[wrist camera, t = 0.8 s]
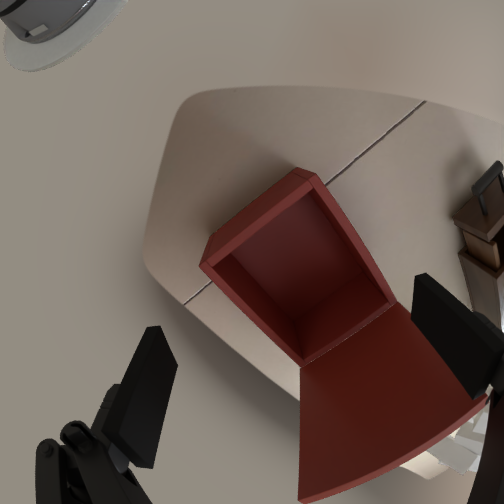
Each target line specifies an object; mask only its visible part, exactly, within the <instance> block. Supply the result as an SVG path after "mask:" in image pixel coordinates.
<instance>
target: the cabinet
mask: <svg viewBox="0 0 504 504" xmlns="http://www.w3.org/2000/svg"><path fill="white" fill-rule="evenodd" d="M458 256H459V259H460V262H461V266H462V269H463V272H464V276H465V279H466V283H467V287H468V291H469V295H470V299H471V303H472V308H473V311H477V312H479V313H481V314H484V315H485V316H486V317H487V318H488V319H489V320H490V321H491V322H493V323H494V324H495V325H496V327H498V328H499V329H500V330H501V331H502V332H503V333H504V265H503V266H502V267H501V268H500V269H499V270H498V272H497V273H496V272H494V271H493V270H491V269H490V268H488V267H487V266H485V265H484V264H482V263H480V262H479V261H477V260H476V259H474V258H473V257H471V256H470V254H469V251H468V247H467V245H466V246H465V247H464V248H463V249H462V250H461V251H460V252H459V253H458Z"/></svg>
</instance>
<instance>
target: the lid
mask: <svg viewBox="0 0 504 504" xmlns="http://www.w3.org/2000/svg"><path fill="white" fill-rule="evenodd" d="M410 318H411V313H410V312H409V311H408V310H407V309H406V308H405V307H404V306H402V305H401V304H400V303H399V302H396V303H395V304H394V305H392V306H391V307H390V308H389V309H387V310H386V311H385V312H383V313H382V314H381V315H379V316H378V317H377V318H375V319H374V320H373V321H371V322H370V323H369V324H367V325H366V326H364V327H363V328H362V329H360V330H359V331H357V332H356V333H354V334H353V335H352V336H350V337H349V338H347V339H346V340H344V341H343V342H341V343H340V344H338V345H337V346H335V347H334V348H332V349H331V350H329V351H327V352H326V353H324V354H323V355H321V356H320V357H318V358H316V359H315V360H313V361H312V362H310V363H308V364H307V365H305V366H303V367H302V368H300V452H299V482H298V501H299V502H301V503H303V504H308V503H311V502H314V501H318V500H321V499H324V498H327V497H330V496H332V495H335V494H338V493H341V492H343V491H346V490H348V489H351V488H353V487H356V486H358V485H360V484H363V483H365V482H367V481H370V480H371V479H374V478H376V477H378V476H380V475H382V474H384V473H386V472H388V471H390V470H392V469H394V468H396V467H398V466H400V465H402V464H403V463H405V462H407V461H409V460H411V459H412V458H414V457H416V456H417V455H419V454H421V453H422V452H424V451H426V450H427V449H429V448H430V447H432V446H433V445H435V444H436V443H438V442H439V441H441V440H442V439H444V438H445V437H447V436H448V435H450V434H451V433H452V432H454V431H455V430H456V429H458V428H459V427H460V426H462V425H463V424H464V423H466V422H467V421H468V420H469V419H471V418H472V417H473V416H474V415H476V414H477V413H478V412H479V411H480V410H482V409H483V408H484V407H485V406H486V405H485V402H486V400H487V398H488V395H487V393H486V392H485V393H484V394H483V395H481V396H480V397H478V398H476V399H475V400H472V399H471V398H470V396H469V395H468V393H467V392H466V390H465V389H464V388H463V386H462V385H461V383H460V382H459V381H458V379H457V378H456V377H455V375H454V374H453V372H452V371H451V370H450V368H449V367H448V366H447V364H446V363H445V362H444V361H443V359H442V358H441V357H440V355H439V354H438V353H437V351H436V350H435V349H434V348H433V346H432V345H431V344H430V343H429V341H428V340H427V339H426V338H425V336H424V335H423V334H422V333H421V331H420V330H419V329H418V328H417V327H416V325H415V324H414V323H413V322H412V321H411V319H410ZM488 404H489V402H488Z"/></svg>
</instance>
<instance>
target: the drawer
mask: <svg viewBox="0 0 504 504" xmlns="http://www.w3.org/2000/svg"><path fill="white" fill-rule="evenodd" d="M503 169H504V167H503V164H502V163H501V162H500V161H496V162H495V163H494V164H493V165H492V166H491V167H490V168H489V169H488V170H487V171H486V172H485V173H484V174H483V175H482V177H481V178H480V179H479V180H478V181H477V182H476V183H475V184H474V185H473V186H472V187H471V190H472V192H473V194H474V196H473V198H472V199H471V200H470V201H469V202H468V203H467V204H466V205H465V206H464V207H463V208H462V209H461V210H460V211H458V212H457V213H456V214H455V215H454V216H453V217H452V219H453V221H454V224H455V225H456V226H458V227H460V228H462V229H463V230H462V231H463V235H464V238H465V241H466V244H467V247H468V251H469V254H470V256H471V257H473V258H474V259H476V260H477V261H479V262H480V263H482V264H484V265H485V266H487V267H488V268H490V269H491V270H493V271H494V272H496V273H497V272H498V270H499V269H500V268H501V267H502V266H503V265H504V177H503V173H502V171H503ZM497 176H498V177H497Z"/></svg>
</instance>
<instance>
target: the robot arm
mask: <svg viewBox="0 0 504 504" xmlns="http://www.w3.org/2000/svg"><path fill="white" fill-rule="evenodd" d="M96 1H97V0H0V18H1V20H2V21H3V22H4V23H5V24H6V25H7V27H8V28H9V29H10V30H11V31H12V32H13V33H14V35H15V36H16V37H17V38H18V39H20V40H22V41H25V42H28V43H31V44H38V43H43V42H46V41H48V40H51V39H53V38H55V37H56V36H58V35H60V34H61V33H63V32H64V31H66V30H67V29H68V28H70V27H71V26H72V25H73V24H75V23H76V22H77V21H78V20H79V19H80V18H81V17H82V16H83V15H84V14H85V13H86V12H87V11H88V10H89V9H90V8H91V7H92V6H93V4H94V3H95V2H96ZM410 319H411V321H412V322H413V323H414V324H415V325H416V327H417V328H418V329H419V330H420V331H421V333H422V334H423V335H424V336H425V338H426V339H427V340H428V341H429V343H430V344H431V345H432V346H433V348H434V349H435V350H436V351H437V353H438V354H439V355H440V357H441V358H442V359H443V361H444V362H445V363H446V364H447V366H448V367H449V368H450V370H451V371H452V372H453V374H454V375H455V377H456V378H457V379H458V381H459V382H460V383H461V385H462V386H463V388H464V389H465V390H466V392H467V393H468V395H469V396H470V398H471V399H472V400H475V399H476V398H478V397H480V396H481V395H483V394H484V393H485V392H486V390H487V388H488V386H489V384H490V385H491V386H492V387H493V389H492V391H491V393H490V395H489V396H488V398H487V400H486V402H485V405H487V404H488V402H489V400H490V405H489V414H488V421H487V428H486V434H485V439H484V444H483V449H482V454H481V458H480V462H479V466H478V470H477V474H476V477H475V481H474V484H473V487H472V490H471V493H470V496H469V499H468V502H467V504H504V333H503V332H502V331H501V330H500V329H499V328H498V327H496V325H495V324H494V323H493V322H491V321H490V320H489V319H488V318H487V317H486V316H485V315H484V314H481V313H479V312H477V311H473V312H471V311H470V310H469V309H468V308H467V307H466V306H465V305H464V304H463V303H461V302H460V301H459V300H458V299H457V298H456V297H455V296H453V295H452V294H451V293H450V292H449V291H448V290H446V289H445V288H444V287H443V286H442V285H441V284H439V283H438V282H437V281H436V280H435V279H433V278H432V277H431V276H430V275H428V274H427V273H423V274H420V275H416V276H415V279H414V291H413V302H412V310H411V318H410ZM177 367H178V364H177V362H176V360H175V358H174V356H173V353H172V351H171V349H170V347H169V345H168V343H167V340H166V338H165V336H164V333H163V331H162V328H161V326H152V327H147V328H146V330H145V332H144V334H143V336H142V339H141V340H140V343H139V345H138V347H137V349H136V351H135V353H134V355H133V358H132V360H131V362H130V364H129V366H128V368H127V371H126V373H125V375H124V377H123V379H122V382H121V384H114V385H113V386H112V387H111V388H110V389H109V390H108V391H107V393H106V395H105V398H104V400H103V402H102V404H101V406H100V409H99V411H98V413H97V415H96V418H95V420H94V422H93V424H92V427H91V429H89V428H88V427H87V426H86V424H85V423H83V422H82V421H72V422H69V423H68V424H66V425H65V426H64V427H63V429H62V430H61V433H60V439H61V441H62V442H63V443H64V444H65V445H59V444H58V443H57V442H56V441H55V440H53V439H45V440H43V441H42V442H41V443H39V445H38V447H37V450H36V466H35V467H36V468H35V488H36V504H152V502H151V501H150V499H149V498H148V496H147V495H146V493H145V492H144V491H143V489H142V487H141V486H140V484H139V482H138V481H137V479H136V478H135V476H134V474H133V473H132V471H131V470H130V469H129V468H128V465H129V462H130V461H131V462H132V463H133V464H134V465H135V466H136V467H140V468H149V469H153V466H154V461H155V456H156V452H157V448H158V443H159V439H160V435H161V430H162V426H163V422H164V418H165V414H166V410H167V406H168V402H169V398H170V394H171V390H172V386H173V382H174V378H175V375H176V371H177Z"/></svg>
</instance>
